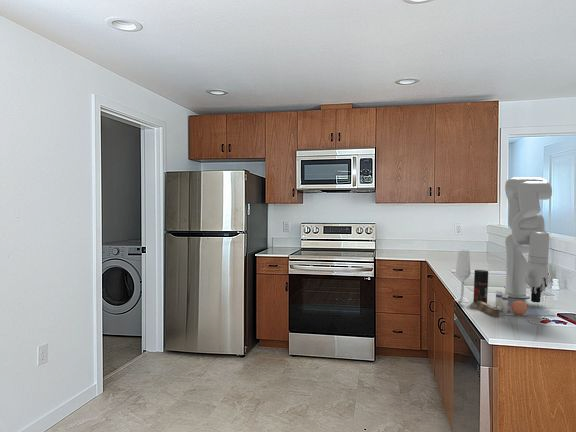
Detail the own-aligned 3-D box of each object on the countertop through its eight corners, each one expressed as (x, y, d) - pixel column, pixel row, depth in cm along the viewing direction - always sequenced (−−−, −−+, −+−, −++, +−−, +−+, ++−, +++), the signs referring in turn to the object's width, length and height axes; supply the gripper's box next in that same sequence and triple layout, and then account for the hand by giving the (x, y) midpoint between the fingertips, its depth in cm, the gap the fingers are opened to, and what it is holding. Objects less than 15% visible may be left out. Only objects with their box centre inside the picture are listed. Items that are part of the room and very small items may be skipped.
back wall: (476, 307, 202) (476, 300, 202) (480, 307, 202) (481, 300, 202) (494, 316, 186) (494, 309, 186) (499, 316, 186) (499, 309, 186)
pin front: (508, 311, 196) (488, 311, 196) (508, 305, 196) (489, 305, 195) (511, 313, 193) (491, 312, 193) (511, 307, 193) (491, 306, 193)
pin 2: (500, 312, 193) (500, 293, 193) (505, 312, 193) (506, 293, 193) (503, 314, 191) (503, 294, 190) (508, 314, 191) (509, 294, 190)
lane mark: (484, 308, 200) (484, 308, 200) (539, 309, 201) (539, 309, 201) (497, 315, 189) (497, 314, 189) (555, 315, 190) (555, 315, 190)
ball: (516, 297, 189) (520, 297, 193) (506, 307, 191) (510, 307, 195) (528, 308, 185) (532, 308, 190) (517, 318, 187) (521, 317, 192)
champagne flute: (470, 300, 217) (472, 250, 216) (467, 302, 211) (469, 251, 210) (456, 298, 221) (458, 249, 220) (452, 300, 215) (454, 250, 214)
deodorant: (475, 300, 217) (476, 269, 216) (488, 302, 213) (489, 270, 212) (471, 302, 212) (472, 270, 211) (484, 304, 208) (486, 272, 208)
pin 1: (494, 309, 198) (494, 290, 198) (499, 309, 198) (500, 290, 198) (497, 311, 196) (497, 291, 195) (502, 311, 196) (503, 291, 195)
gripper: (519, 257, 202) (517, 297, 203) (539, 263, 187) (537, 306, 189) (536, 257, 202) (533, 297, 204) (557, 263, 187) (554, 306, 189)
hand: (535, 301), depth 196 cm, fingers closed
